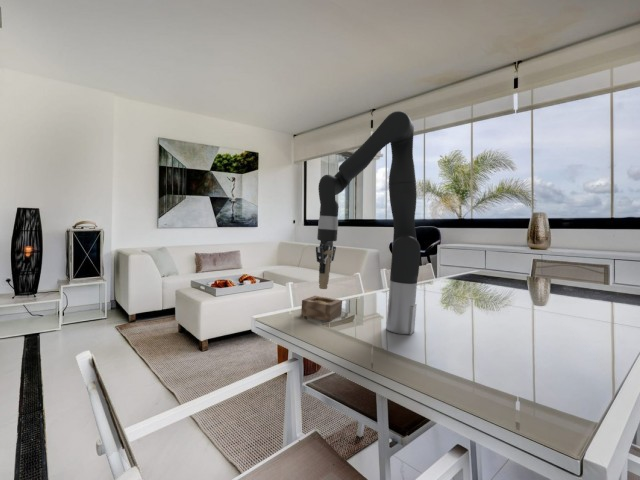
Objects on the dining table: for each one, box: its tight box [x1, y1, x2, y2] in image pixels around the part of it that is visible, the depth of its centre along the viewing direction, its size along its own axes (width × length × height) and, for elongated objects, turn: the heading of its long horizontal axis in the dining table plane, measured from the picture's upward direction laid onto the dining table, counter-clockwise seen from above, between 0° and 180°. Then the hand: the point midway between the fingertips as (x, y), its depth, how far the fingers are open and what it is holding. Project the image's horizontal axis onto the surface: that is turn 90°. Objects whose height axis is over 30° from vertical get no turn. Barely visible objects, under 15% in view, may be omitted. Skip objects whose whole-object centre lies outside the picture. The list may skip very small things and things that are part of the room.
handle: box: [318, 250, 333, 290], centre depth 128 cm, size 5×6×15 cm
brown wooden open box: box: [300, 295, 343, 322], centre depth 129 cm, size 12×11×6 cm
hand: (324, 272), depth 128 cm, fingers closed on handle, 4 cm apart
